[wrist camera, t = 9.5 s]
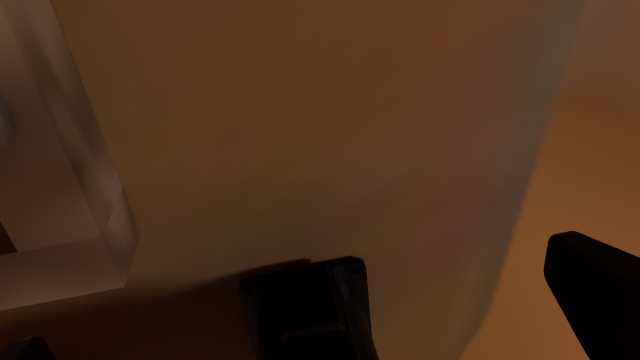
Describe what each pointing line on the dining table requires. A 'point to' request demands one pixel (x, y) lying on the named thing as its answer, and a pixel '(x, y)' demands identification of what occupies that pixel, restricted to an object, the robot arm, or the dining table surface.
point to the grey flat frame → (55, 172)
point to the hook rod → (6, 124)
